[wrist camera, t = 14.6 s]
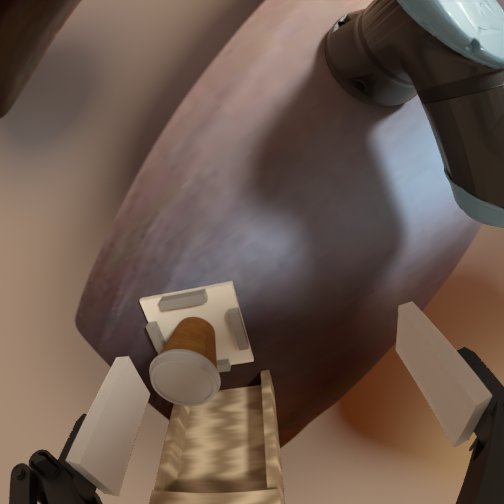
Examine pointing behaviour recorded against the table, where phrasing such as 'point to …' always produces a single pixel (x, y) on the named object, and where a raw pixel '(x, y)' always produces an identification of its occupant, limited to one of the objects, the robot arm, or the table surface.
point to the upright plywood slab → (223, 450)
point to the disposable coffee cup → (187, 364)
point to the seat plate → (208, 308)
